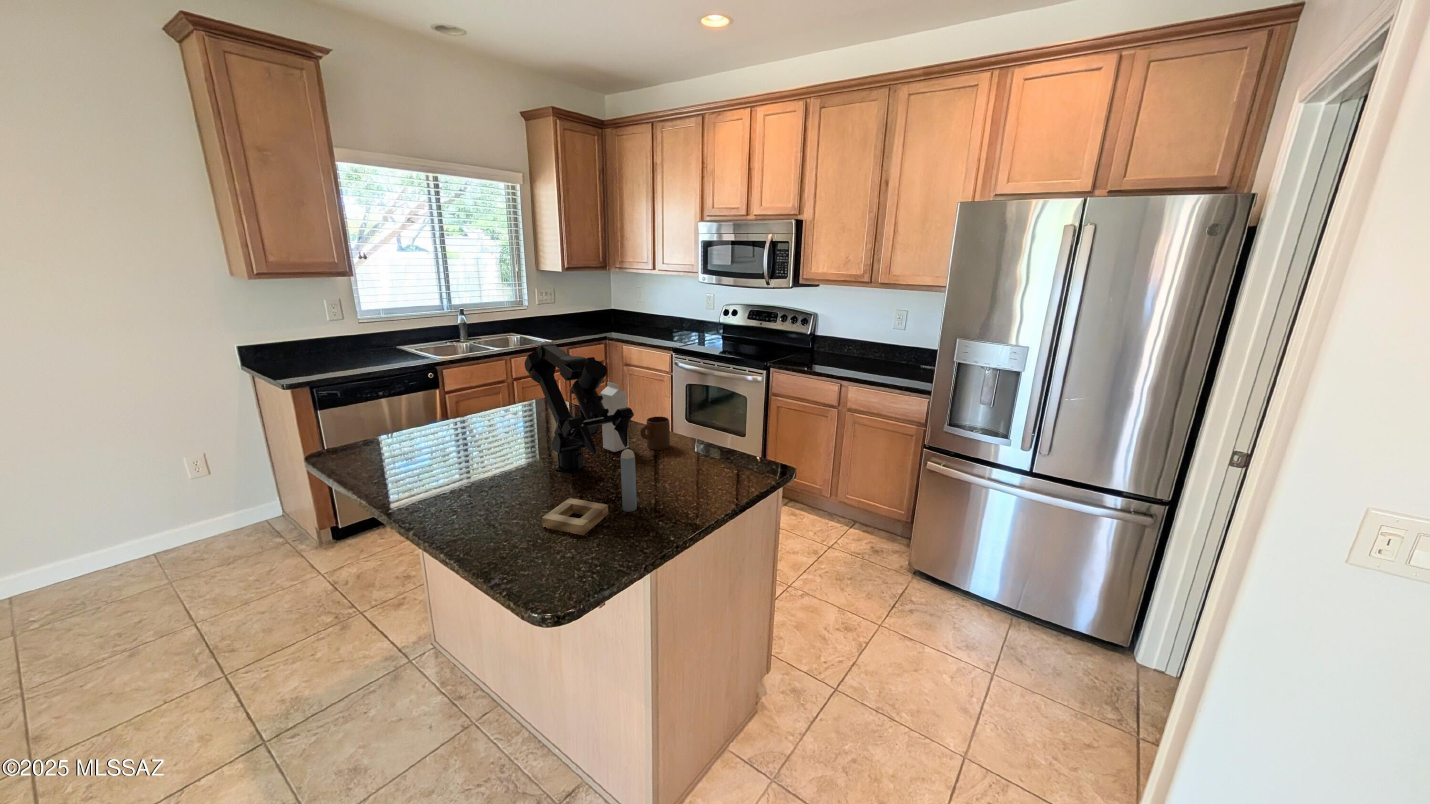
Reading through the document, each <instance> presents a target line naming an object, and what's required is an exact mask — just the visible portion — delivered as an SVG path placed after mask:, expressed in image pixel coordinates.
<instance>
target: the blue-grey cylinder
mask: <svg viewBox="0 0 1430 804" xmlns="http://www.w3.org/2000/svg"><path fill="white" fill-rule="evenodd" d="M620 476H621V478H620V479H621V497H622V498H621V500H622V501H621V503H622V511H623V512H628V513H630V512H631V513H632V512H634V511H636V510H637V509H638V508H637V506H638V505H637V503H638V502H637V482H636V481H637V479H636V478H637V477H636V455H635V453H634V451H633V450H631V449H629V448H626V449H623V450H622V452H621V454H620Z"/></svg>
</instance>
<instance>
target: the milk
mask: <svg viewBox="0 0 1430 804" xmlns="http://www.w3.org/2000/svg"><path fill="white" fill-rule="evenodd" d="M606 384H607V386H606V387H605V388H604V389H602V391H601V392H600V393H599V394H600V395H599V396H601V395H602V397H603V400H602V403H603V406H604V408H605V409H607V408H608V410H609V413H608V414H607V415H608V416H609V415H613V414H614V413H615V412H616V410H617V409H621V408H626V407H628V397H627V395H628V394H627V392H626V391H624V390H621V389H620V385H619V384H618V383H614V382H611V381H607V383H606ZM615 427H616V426H614V425H613V424H612V422H611V423H606V424H602V425H601V428H602V429H601V431H602V432H601V433H602V447H603V449H605V450H607V451H610V452H612V453H616V452H619V451H624V450H626V449H629V447H630V446H629V444H628V445H627V447H624V445H623V443H622V441H621V439H620V436H619V434H618V432H617V431H616V430H614V428H615Z"/></svg>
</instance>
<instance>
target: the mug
mask: <svg viewBox="0 0 1430 804" xmlns="http://www.w3.org/2000/svg"><path fill="white" fill-rule="evenodd" d="M670 429H671V427H670V419H669V417H666V416H653V417H652V416H651V417H648V418H646V424H644V425H642V426H641V428H640V431H639V432H640V437H641V438H642V439H643V440H646V445H647V448H648V449H651V450H655V451H662V450H666V449H667V448H669V447H670V443H671V440H670V439H671V438H670V437H671V435H670V434H671V432H670V431H671V430H670Z"/></svg>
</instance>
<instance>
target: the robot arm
mask: <svg viewBox="0 0 1430 804" xmlns="http://www.w3.org/2000/svg"><path fill="white" fill-rule="evenodd" d="M524 369H525V371H526V372H527V373H528V375H529V377H530V378H531V380H533V381H534V382H535V383H537V384H539V387H540V388H541V391H542V393H543V395H544V398H545V400H546V403H547V405H548V407H549V410H550V412H551V414H552V417H553V419H554V422H555V428H554V433H553V434H554V436H553V438H552V440H551V442H550V443H551V444H550V445H551V449H552V450H553V452H555V453H556V454H557V464H558V465H557V467H555V469H554V470H555V471H558V472H565V473H569V474H570V473H572V474H574V473H576V472H578V471H579V470H580V469H582V468H583V467H585V466H586V464H585V463H584V457H583V456H584V455H583V453H582V449H584V448H586V449H587V450H588V451H589V452H590V453H592V455H594V456H596V454H597V448H596V447H595V443H594V440H593V438H592V436H594V435H596V434H598V433H599V426H602V424H606V423H611V422H612V424H613V425H614V426H616V427H615V428H614V430H616V431H617V432H618V434H619V436H620V439H621V441H622V443H623V445H624V447H627V445H629V422H630V421H631V420H632V418H633V417H634V416H635V413H634V411H633V409H632V408H631V407H629V406H627V407H626V408H621V409H617V410H616V412H615V413H614V414H613V415H609V416H608V415H607V414H608V413H609V410H608V408H607V409H605V408H604V406H603V403H602V400H603V397H602V395H599V394H600V393H598V388H600V386H601V384H602V383H603V382H604V379H605V378H606V376H607V374H608V367H607V366H606V365H605V364H604V363H602V362H601V361H599V360H598V359H597V360H596V358H595V357H594V356H591V357H584V356H580V355H576V356H575V355H571V354H569V353H567V352H566V351H564V350H563V349H561V348H559V347H558V346H557V344H555V343H546V344H544V343H543V344H539V345H538V346H537V347H536V349H535V350H533V351H531V352H530V353H529V354H528V355H527V357H526V359H525V361H524ZM556 369H558V370H559V375H560V376H561V377H562V378H563V379H564V380H565V381H567V382H569V381H574V383H572V386H571V390H570V394H571V395H574V396H575V399H576V400H577V403H578V406H579V408H578V413H579V415H578V416H574V415H572V413H571V412H570V410H569V407H568V405H567V402H566V400H565V398H564V396H563V394H562V392H561V389H560V387H559V385H558V382H557V380H556V378H555V373H556Z"/></svg>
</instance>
